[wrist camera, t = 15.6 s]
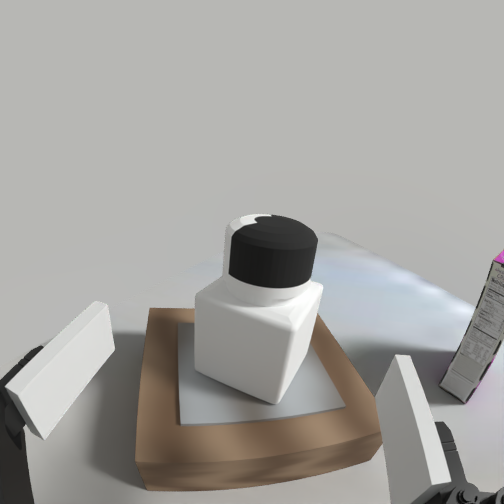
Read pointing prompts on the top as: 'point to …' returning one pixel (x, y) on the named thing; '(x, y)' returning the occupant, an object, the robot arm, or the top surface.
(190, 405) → the walnut base
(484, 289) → the candy bar box
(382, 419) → the robot arm
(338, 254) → the top surface
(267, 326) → the medicine bottle
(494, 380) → the top surface
